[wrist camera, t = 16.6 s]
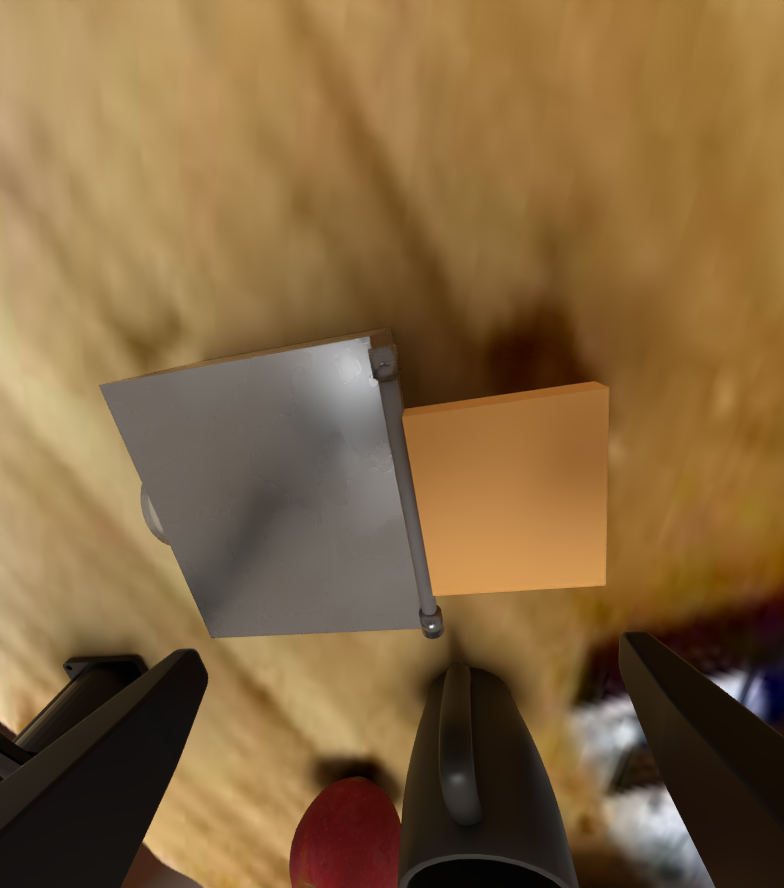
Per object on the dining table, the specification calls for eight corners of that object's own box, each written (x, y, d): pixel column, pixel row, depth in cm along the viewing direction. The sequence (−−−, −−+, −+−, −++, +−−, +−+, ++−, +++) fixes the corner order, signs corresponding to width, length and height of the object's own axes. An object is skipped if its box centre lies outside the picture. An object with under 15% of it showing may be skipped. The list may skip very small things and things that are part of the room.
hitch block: (268, 554, 23) (200, 654, 16) (201, 361, 19) (77, 390, 12) (442, 539, 21) (445, 644, 14) (408, 323, 17) (392, 333, 11)
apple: (381, 746, 28) (362, 904, 21) (420, 808, 30) (415, 971, 23) (296, 759, 30) (251, 909, 22) (339, 817, 32) (311, 970, 25)
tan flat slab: (421, 619, 14) (605, 610, 13) (376, 385, 11) (610, 348, 10) (422, 600, 15) (593, 590, 14) (381, 379, 12) (595, 344, 11)
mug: (520, 601, 22) (579, 800, 13) (535, 735, 26) (588, 957, 17) (388, 612, 23) (360, 797, 15) (421, 737, 27) (414, 943, 18)
